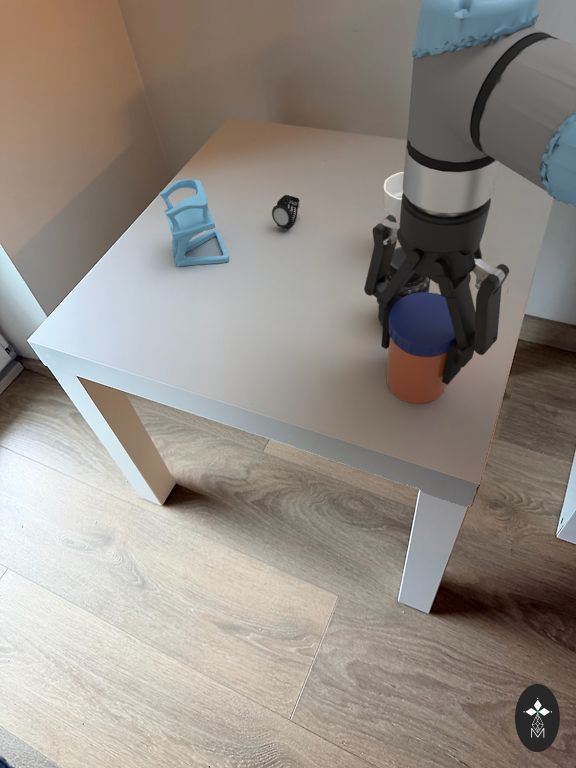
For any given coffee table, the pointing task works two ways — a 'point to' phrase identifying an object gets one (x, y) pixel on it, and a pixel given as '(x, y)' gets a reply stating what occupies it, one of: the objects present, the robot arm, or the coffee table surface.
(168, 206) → the chair
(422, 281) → the pill bottle
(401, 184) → the cup
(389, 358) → the jar
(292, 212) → the smartwatch
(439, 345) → the jar lid
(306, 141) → the coffee table surface
